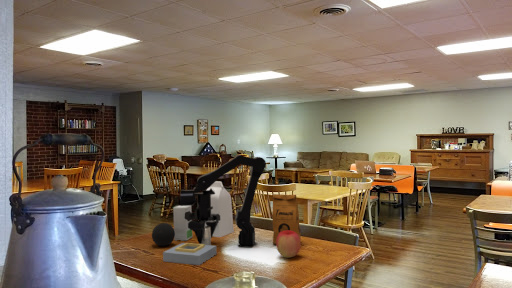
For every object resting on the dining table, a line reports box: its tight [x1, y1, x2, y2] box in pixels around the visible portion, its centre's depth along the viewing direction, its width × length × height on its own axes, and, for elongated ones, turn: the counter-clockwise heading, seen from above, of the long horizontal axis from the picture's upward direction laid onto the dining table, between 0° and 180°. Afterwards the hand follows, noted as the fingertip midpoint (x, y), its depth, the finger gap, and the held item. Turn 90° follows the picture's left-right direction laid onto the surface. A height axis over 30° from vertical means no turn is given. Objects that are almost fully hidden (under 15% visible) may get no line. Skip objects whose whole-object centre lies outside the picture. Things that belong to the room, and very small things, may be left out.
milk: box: [205, 180, 235, 238], centre depth 190 cm, size 12×12×26 cm
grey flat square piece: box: [162, 242, 218, 266], centre depth 151 cm, size 16×14×4 cm
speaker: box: [151, 222, 175, 247], centre depth 170 cm, size 10×10×10 cm
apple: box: [275, 230, 302, 259], centre depth 149 cm, size 10×10×10 cm
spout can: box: [201, 226, 212, 245], centre depth 165 cm, size 7×5×9 cm
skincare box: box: [172, 205, 193, 242], centre depth 181 cm, size 8×7×16 cm
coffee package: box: [271, 193, 302, 245], centre depth 168 cm, size 10×12×22 cm
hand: (205, 240), depth 165 cm, fingers open, 9 cm apart
